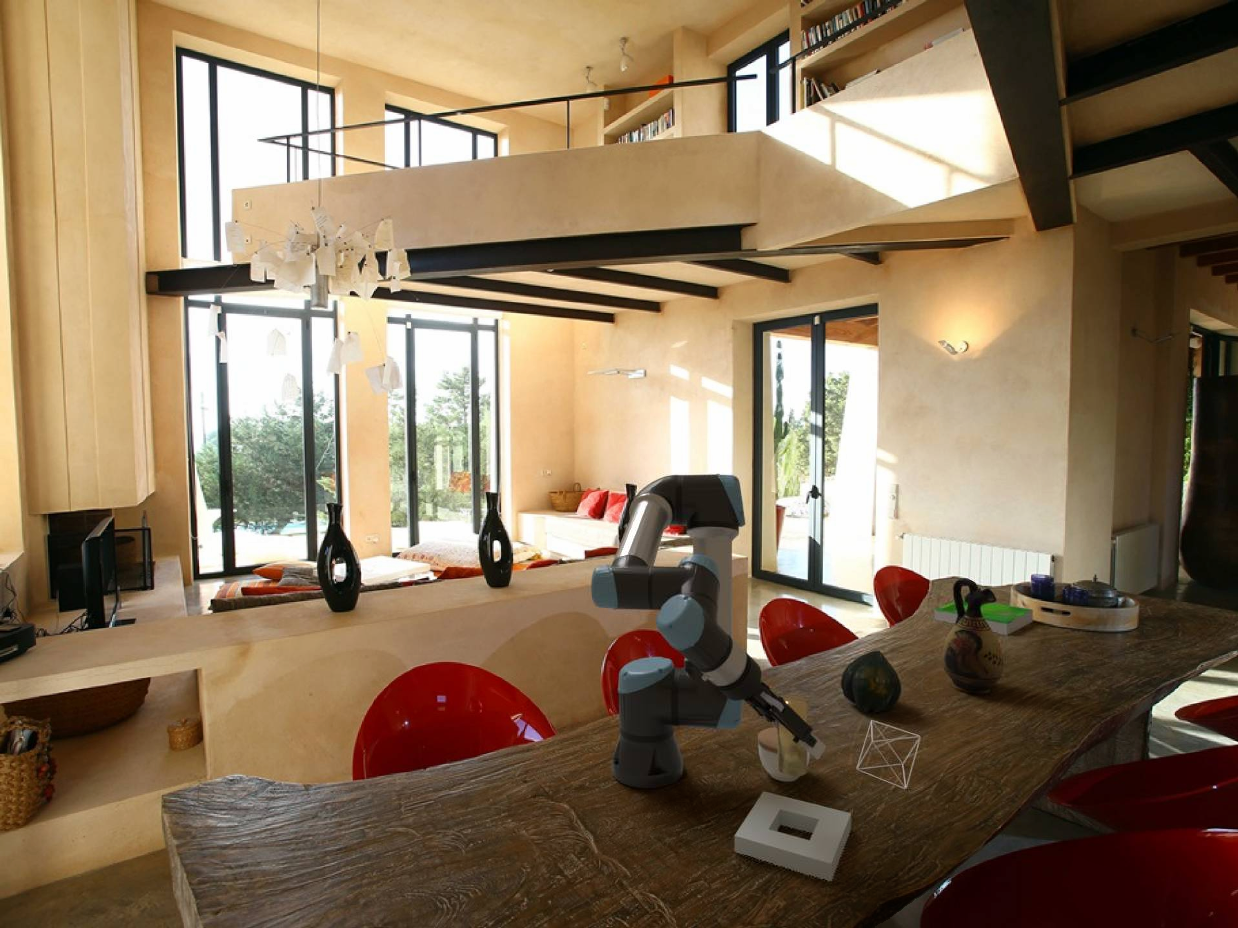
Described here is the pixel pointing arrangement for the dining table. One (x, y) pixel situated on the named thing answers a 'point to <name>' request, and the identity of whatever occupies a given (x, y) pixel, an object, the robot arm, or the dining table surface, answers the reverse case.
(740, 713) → the robot arm
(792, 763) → the gold cylinder
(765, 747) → the lidded jar
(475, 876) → the dining table surface
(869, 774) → the geometric polyhedron
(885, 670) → the squash
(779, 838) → the frame
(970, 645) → the ceramic jug
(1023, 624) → the tray
